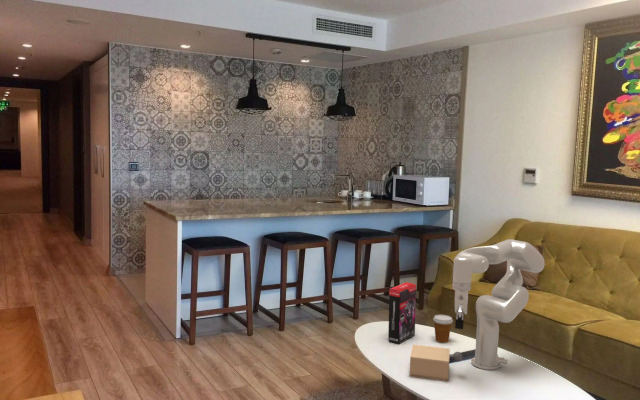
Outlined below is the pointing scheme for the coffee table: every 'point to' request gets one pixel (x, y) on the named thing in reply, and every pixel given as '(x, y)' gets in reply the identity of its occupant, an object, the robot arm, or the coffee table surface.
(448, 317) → the disposable coffee cup
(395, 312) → the graphics card box
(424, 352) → the carton lid
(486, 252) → the robot arm
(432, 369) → the carton
